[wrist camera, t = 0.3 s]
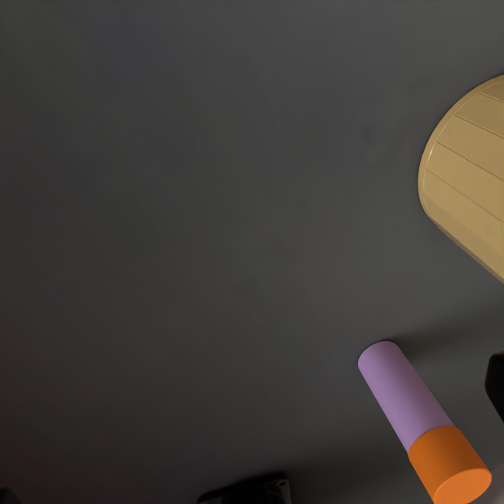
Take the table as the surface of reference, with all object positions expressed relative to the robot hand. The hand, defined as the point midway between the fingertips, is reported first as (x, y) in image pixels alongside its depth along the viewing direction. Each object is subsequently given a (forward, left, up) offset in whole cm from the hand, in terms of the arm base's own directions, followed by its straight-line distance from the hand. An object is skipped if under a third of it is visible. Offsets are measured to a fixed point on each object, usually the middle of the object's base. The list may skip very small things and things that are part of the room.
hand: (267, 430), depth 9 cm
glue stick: (-15, -9, -14) cm, 23 cm away
